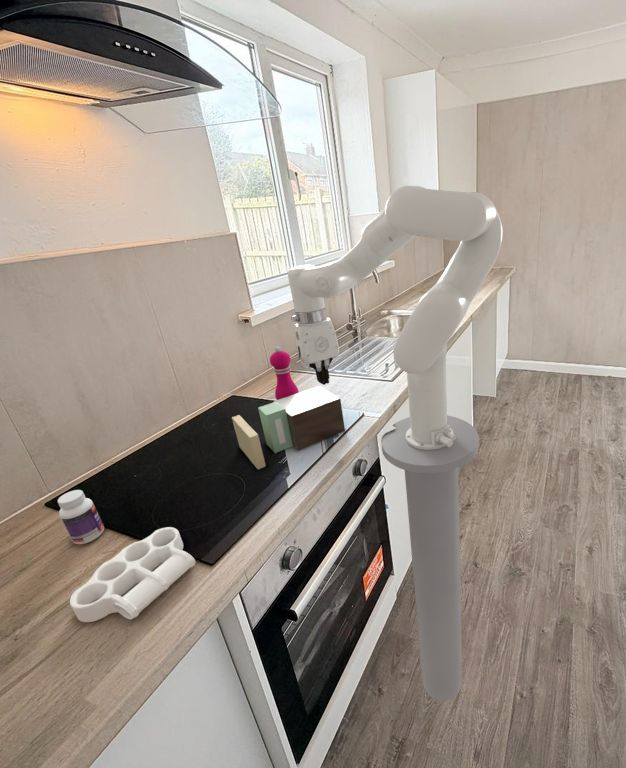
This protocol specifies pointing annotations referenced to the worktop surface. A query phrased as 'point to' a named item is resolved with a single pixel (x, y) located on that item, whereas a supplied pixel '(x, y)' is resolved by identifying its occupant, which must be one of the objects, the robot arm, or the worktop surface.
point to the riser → (313, 416)
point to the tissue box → (275, 426)
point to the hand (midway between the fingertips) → (324, 382)
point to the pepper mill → (282, 374)
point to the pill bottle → (80, 517)
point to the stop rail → (249, 441)
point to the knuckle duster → (133, 577)
